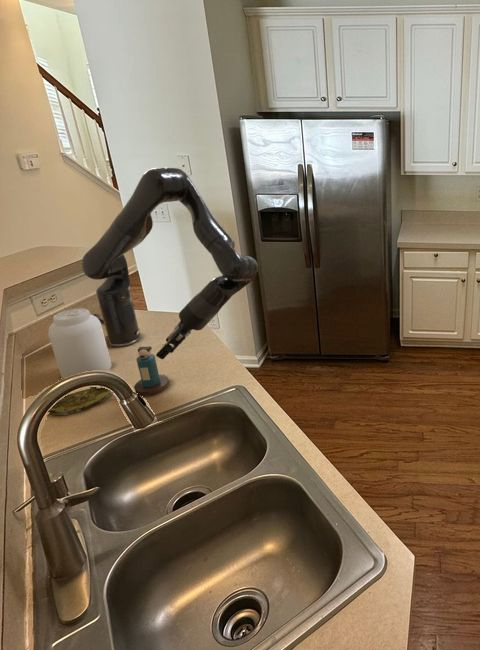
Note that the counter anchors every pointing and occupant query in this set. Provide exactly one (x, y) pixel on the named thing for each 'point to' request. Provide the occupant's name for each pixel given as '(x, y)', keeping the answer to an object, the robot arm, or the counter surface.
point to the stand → (154, 389)
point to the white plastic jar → (78, 342)
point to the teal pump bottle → (147, 367)
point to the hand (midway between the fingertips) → (164, 349)
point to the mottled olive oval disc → (80, 401)
